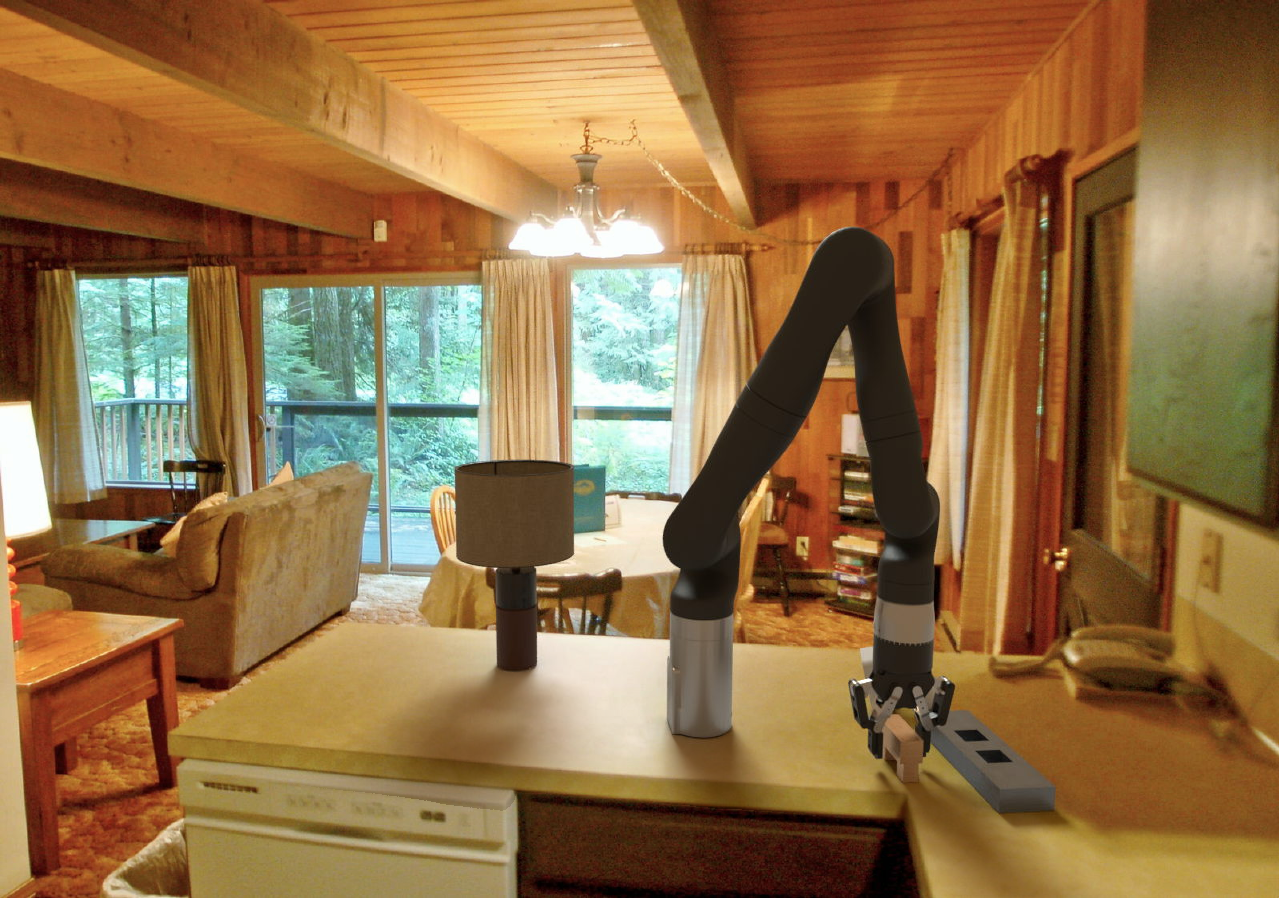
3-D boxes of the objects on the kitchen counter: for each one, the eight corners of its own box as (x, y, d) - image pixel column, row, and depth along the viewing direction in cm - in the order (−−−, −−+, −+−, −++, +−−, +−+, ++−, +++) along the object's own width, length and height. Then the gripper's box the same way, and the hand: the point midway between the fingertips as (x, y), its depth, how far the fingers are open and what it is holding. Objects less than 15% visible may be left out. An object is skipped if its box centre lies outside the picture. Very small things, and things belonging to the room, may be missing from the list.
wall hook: (945, 716, 126) (931, 652, 126) (875, 726, 129) (861, 663, 128) (938, 695, 134) (925, 635, 134) (872, 705, 137) (859, 645, 136)
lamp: (568, 686, 139) (567, 475, 135) (446, 685, 139) (441, 474, 135) (579, 644, 159) (578, 459, 155) (471, 643, 159) (468, 459, 155)
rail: (1054, 810, 102) (1055, 786, 101) (998, 812, 101) (999, 789, 101) (966, 729, 124) (967, 709, 123) (920, 731, 123) (921, 711, 122)
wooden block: (921, 781, 108) (923, 740, 108) (899, 782, 108) (900, 741, 108) (896, 752, 116) (898, 714, 116) (875, 753, 116) (877, 714, 115)
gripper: (860, 642, 106) (855, 771, 108) (970, 639, 107) (964, 766, 109) (840, 623, 113) (836, 744, 115) (943, 621, 115) (938, 740, 116)
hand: (898, 754), depth 112 cm, fingers open, 5 cm apart
